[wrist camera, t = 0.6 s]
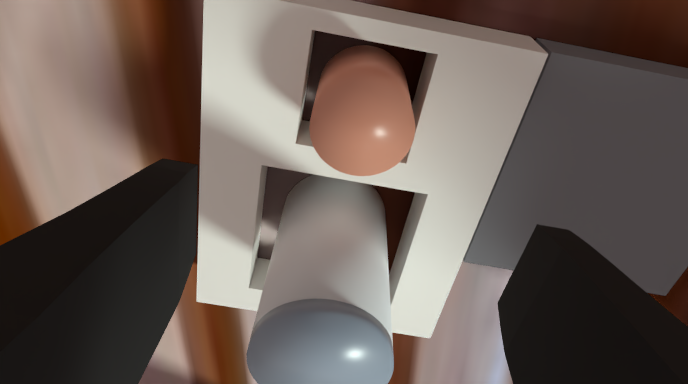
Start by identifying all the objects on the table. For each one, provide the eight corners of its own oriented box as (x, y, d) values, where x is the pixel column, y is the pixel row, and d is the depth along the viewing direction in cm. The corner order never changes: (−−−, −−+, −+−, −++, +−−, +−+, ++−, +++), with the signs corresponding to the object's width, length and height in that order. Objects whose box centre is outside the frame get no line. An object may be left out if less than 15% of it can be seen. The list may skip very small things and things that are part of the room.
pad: (774, 85, 16) (810, 103, 14) (646, 269, 20) (665, 295, 19) (536, 37, 15) (551, 52, 14) (457, 236, 19) (463, 261, 18)
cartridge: (396, 181, 18) (410, 326, 12) (373, 261, 20) (376, 417, 14) (290, 162, 18) (252, 301, 12) (278, 245, 20) (241, 397, 14)
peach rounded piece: (417, 54, 15) (427, 91, 12) (395, 136, 16) (401, 184, 14) (326, 36, 15) (318, 70, 12) (312, 121, 16) (302, 166, 14)
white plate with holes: (530, 36, 15) (548, 54, 14) (425, 305, 22) (430, 338, 20) (221, -26, 14) (204, -15, 13) (208, 271, 21) (196, 301, 19)
